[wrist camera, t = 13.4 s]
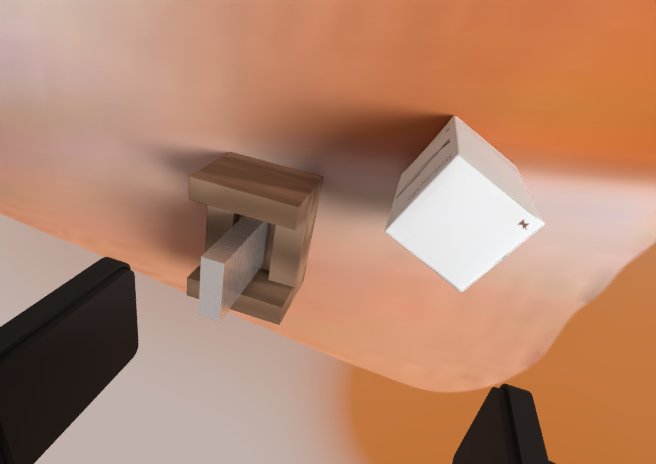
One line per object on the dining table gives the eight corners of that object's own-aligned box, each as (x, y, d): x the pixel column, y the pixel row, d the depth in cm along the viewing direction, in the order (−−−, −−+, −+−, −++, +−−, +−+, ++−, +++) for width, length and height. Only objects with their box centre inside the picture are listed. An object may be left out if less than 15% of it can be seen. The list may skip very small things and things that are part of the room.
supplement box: (454, 111, 35) (460, 149, 24) (517, 166, 36) (551, 226, 25) (397, 174, 39) (380, 231, 28) (456, 222, 39) (462, 296, 28)
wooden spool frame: (230, 152, 42) (189, 176, 35) (323, 177, 41) (298, 207, 34) (223, 256, 48) (186, 295, 41) (303, 281, 47) (279, 324, 40)
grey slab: (252, 208, 41) (200, 256, 32) (270, 213, 41) (224, 263, 32) (246, 257, 44) (198, 314, 35) (264, 263, 43) (219, 321, 35)
